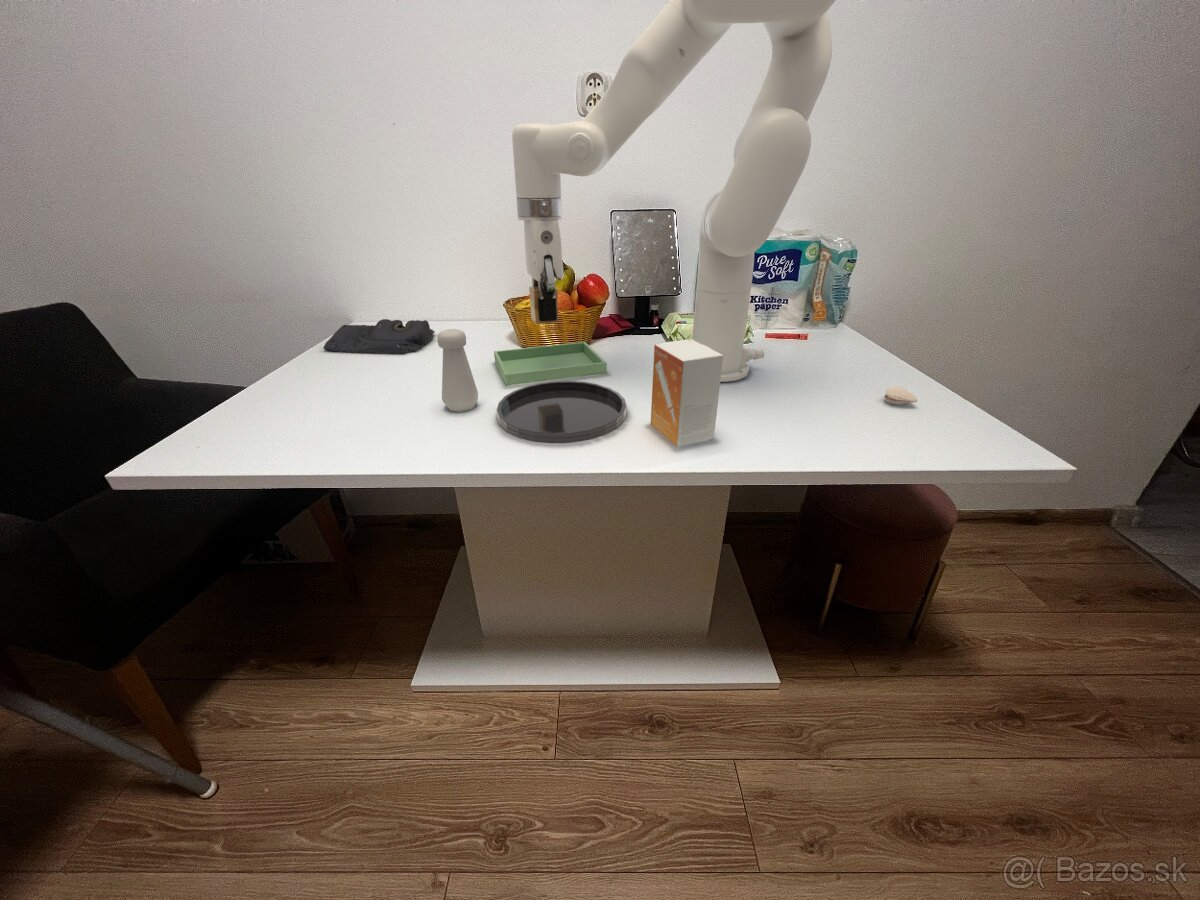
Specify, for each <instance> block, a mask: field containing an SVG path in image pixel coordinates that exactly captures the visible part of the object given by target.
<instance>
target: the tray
mask: <svg viewBox="0 0 1200 900" xmlns="http://www.w3.org/2000/svg"><path fill="white" fill-rule="evenodd" d="M493 356H494V363H495V366H496V369H497V370H498V372H499V374H500V376H501V377H502V380H503V382H504V384H505V386H514V385H521V384H528V383H529V384H530V383H537V382H546V381H553V380H561V379H570V378H577V377H585V376H595V375H601V374H607V370H608V369H607V368H608V367H607V365H608V364H607V361H605V359H603V358H602V356H601V355H599V353H598V352H596V351H595V350H594V349H593V348H592V347H591V346H590V345H589V344H588V343H587V342H586V341H579V342H569V343H561V344H559V343H558V344H549V345H541V346H533V347H532V346H530V347H522V348H513V349H503V350H493Z"/></svg>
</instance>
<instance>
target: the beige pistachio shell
mask: <svg viewBox="0 0 1200 900" xmlns="http://www.w3.org/2000/svg"><path fill="white" fill-rule="evenodd" d="M884 393H885V395H884V396H883V397H884V400H885V401H886V402H888V403H889V404H892V405H907V404H908V405H909V404H913V403H917V402H919V400H918V398H917V397H916V396H915V395H914V394H913V393H912V392H911V391H909V390H907V389H906V388H903V387H900V386H892V387H889V388H887V389H886V390H885V391H884Z"/></svg>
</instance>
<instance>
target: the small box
mask: <svg viewBox="0 0 1200 900" xmlns="http://www.w3.org/2000/svg"><path fill="white" fill-rule="evenodd" d="M653 347H654V348H653V366H652V386H651V387H652V388H651V389H652V390H651V404H650V405H651V408H650V426H652V427H653V428H654V429H656V430H657V431H658V432H659V433H661V434H662V435H663V436H664V437H665V438H666V439H668V440H669V441H670V442H671V443H672V444H673V445H674V446H675V447H683V446H687V445H691V444H696V443H700V442H704V441H705V442H706V441H709V440H714V439H715V431H716V423H717V415H718V414H717V413H718V404H719V395H720V386H721V382H720V379H721V369H722V361H723V355H722V354H720V353H718V352H716V351H714V350H712V349H711V348H709V347H707V346H705V345H702V344H700V343H698V342H696V341H694V340H692V338H689V339H680V340H679V339H678V340H671V341H666V342H660V343H655V344H654V345H653Z"/></svg>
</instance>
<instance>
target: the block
mask: <svg viewBox="0 0 1200 900" xmlns="http://www.w3.org/2000/svg"><path fill="white" fill-rule="evenodd" d="M543 287H544V286H543ZM528 288H529V289H528V291H529V305H530V319H531V321H532V322H533V323H534V324H535V325H540V324H541V325H542V324H554V323H559V322H560V318H559V297H558V292H559V291H558V289H557V288H556V287H555V294H556V315H557V319H556V320H553V321H540V320H539V311H538V299H540V297H539V287H538V286H532V285H531V286H529V287H528Z"/></svg>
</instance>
